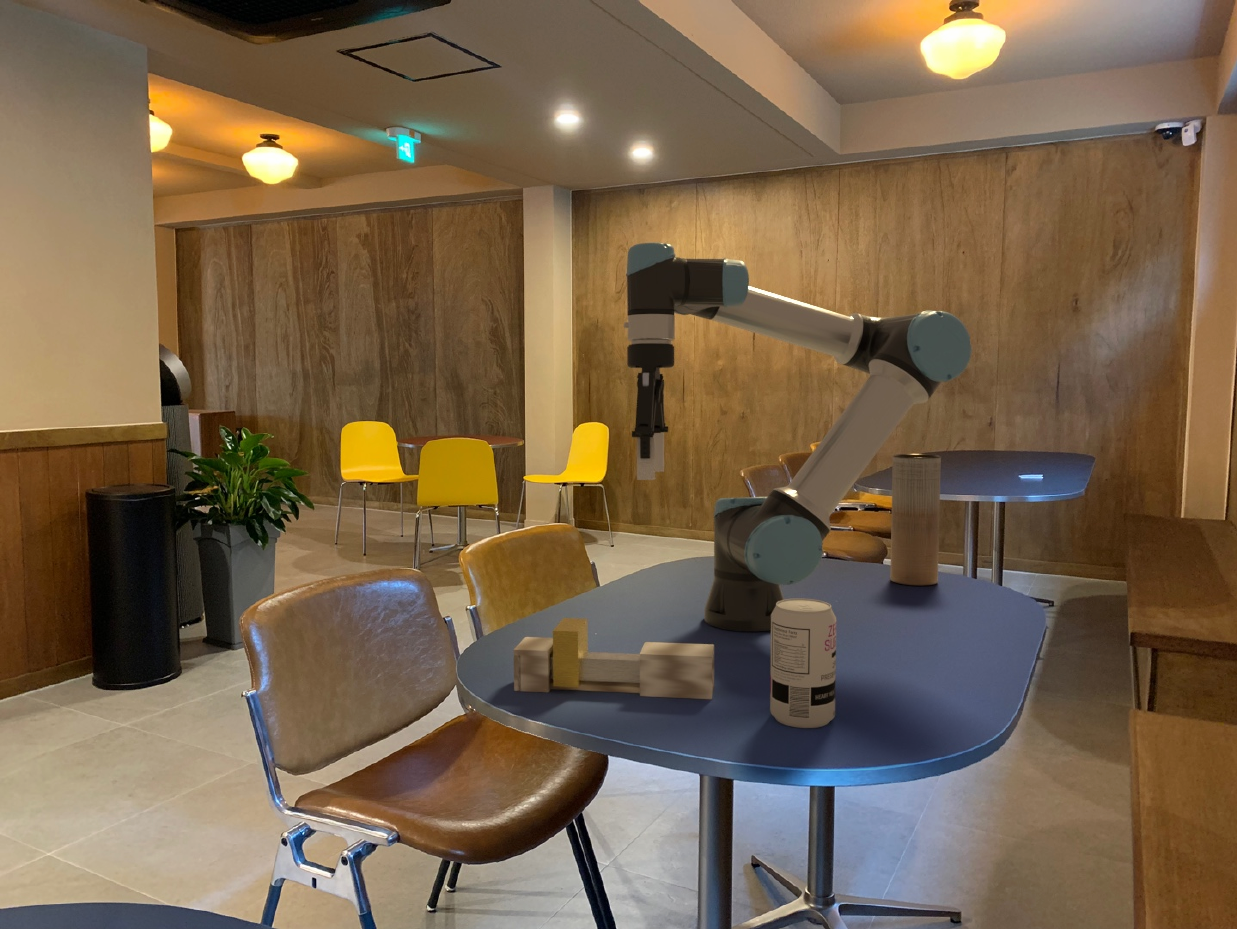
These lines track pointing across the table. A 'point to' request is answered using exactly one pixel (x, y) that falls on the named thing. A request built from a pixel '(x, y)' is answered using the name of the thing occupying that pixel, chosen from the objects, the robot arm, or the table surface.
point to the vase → (915, 519)
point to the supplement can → (803, 663)
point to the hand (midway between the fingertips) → (651, 475)
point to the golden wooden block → (587, 658)
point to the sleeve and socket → (660, 676)
